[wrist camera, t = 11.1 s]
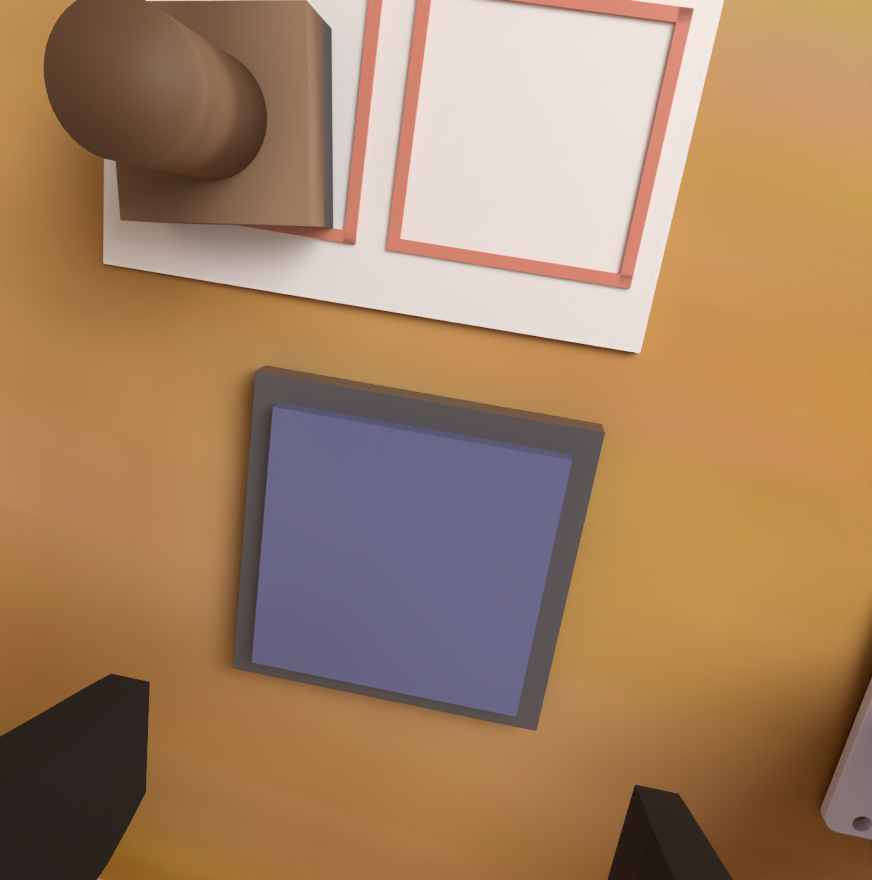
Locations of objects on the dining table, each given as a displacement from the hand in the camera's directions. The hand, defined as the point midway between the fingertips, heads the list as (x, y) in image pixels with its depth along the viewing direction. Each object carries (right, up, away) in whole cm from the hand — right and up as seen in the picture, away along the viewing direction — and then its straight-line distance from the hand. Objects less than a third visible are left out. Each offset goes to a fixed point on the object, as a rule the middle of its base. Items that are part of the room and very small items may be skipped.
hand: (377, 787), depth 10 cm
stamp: (-4, +13, +7) cm, 15 cm away
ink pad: (0, +2, +10) cm, 10 cm away
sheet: (0, +13, +7) cm, 14 cm away
